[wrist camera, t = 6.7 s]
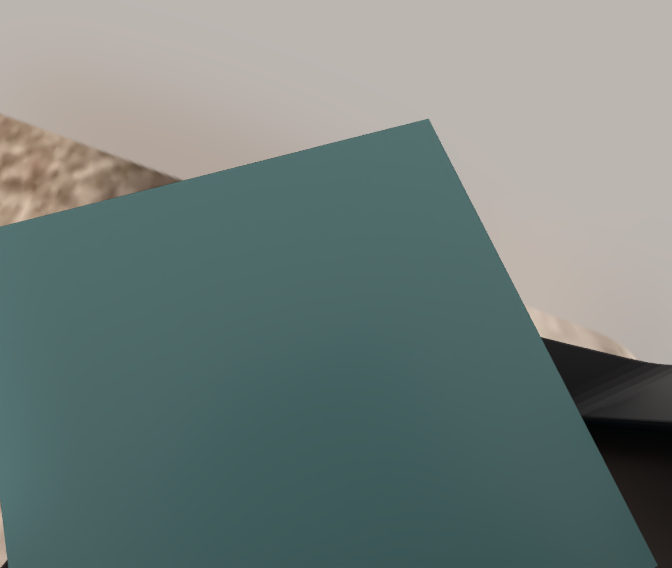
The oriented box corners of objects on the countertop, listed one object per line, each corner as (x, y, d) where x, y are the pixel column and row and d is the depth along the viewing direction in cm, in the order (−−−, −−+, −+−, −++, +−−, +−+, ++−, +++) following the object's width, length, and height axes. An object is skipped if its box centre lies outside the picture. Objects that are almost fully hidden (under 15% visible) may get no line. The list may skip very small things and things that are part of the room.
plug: (368, 417, 15) (657, 564, 3) (267, 459, 14) (49, 933, 2) (332, 320, 16) (428, 118, 4) (236, 354, 15) (-31, 234, 3)
